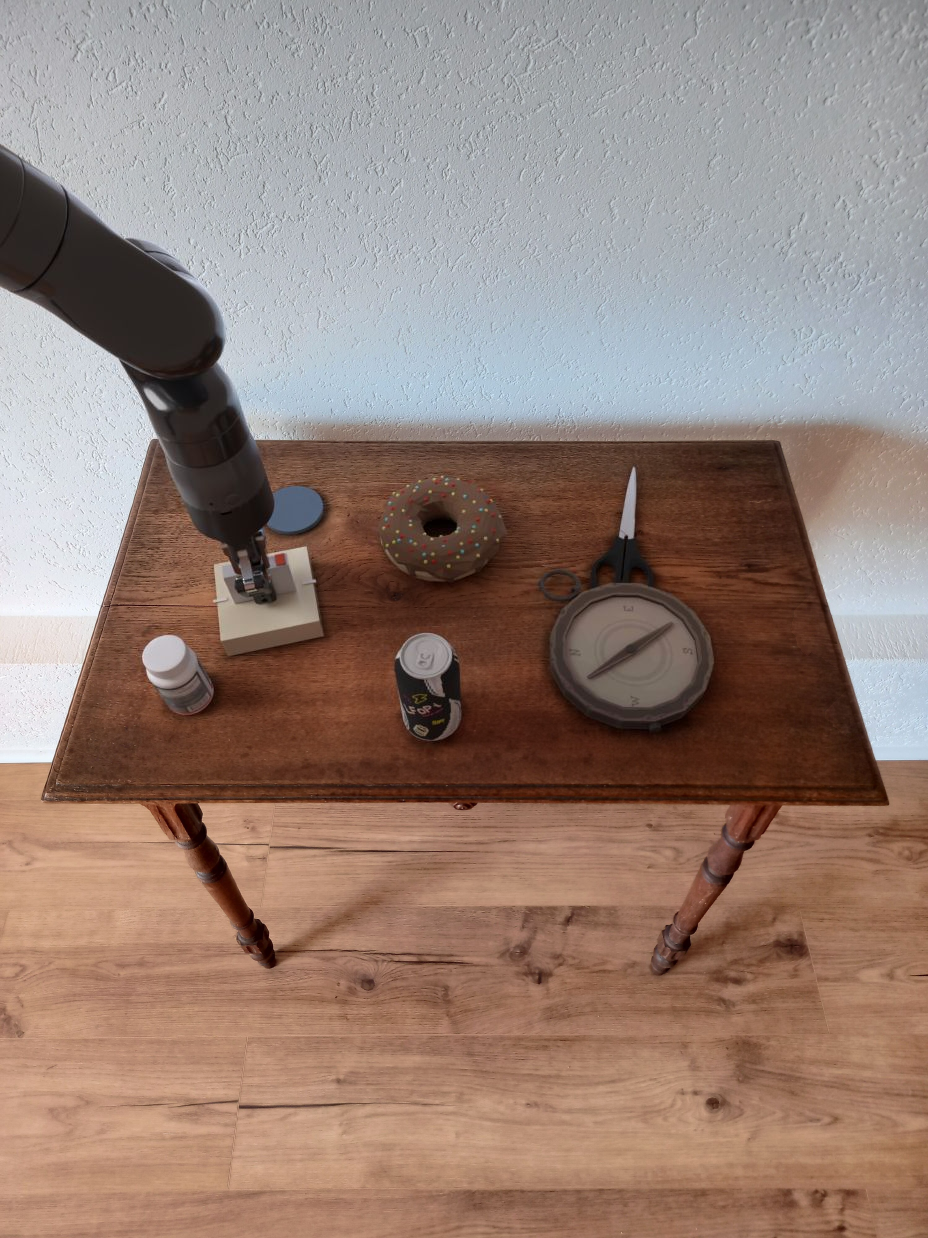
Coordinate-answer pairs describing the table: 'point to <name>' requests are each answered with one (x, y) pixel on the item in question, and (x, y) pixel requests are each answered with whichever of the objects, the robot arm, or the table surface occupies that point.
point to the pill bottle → (177, 675)
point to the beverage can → (429, 686)
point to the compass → (628, 654)
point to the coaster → (295, 510)
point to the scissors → (617, 550)
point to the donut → (445, 553)
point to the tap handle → (278, 570)
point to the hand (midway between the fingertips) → (265, 591)
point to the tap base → (270, 611)
